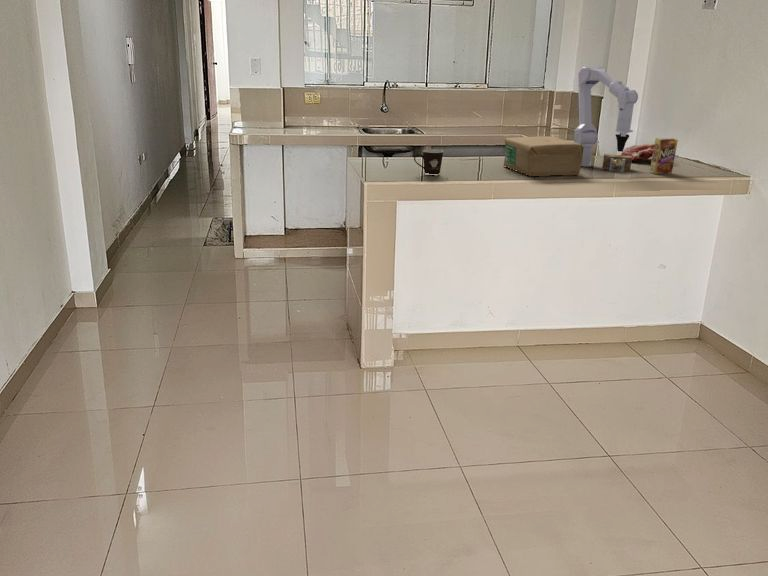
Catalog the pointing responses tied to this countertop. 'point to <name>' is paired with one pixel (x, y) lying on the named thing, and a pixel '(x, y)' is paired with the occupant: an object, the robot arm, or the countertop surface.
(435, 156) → the coffee mug
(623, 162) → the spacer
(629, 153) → the meat
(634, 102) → the robot arm
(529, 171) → the paper package
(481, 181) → the countertop surface
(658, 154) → the candy box
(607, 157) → the bearing block
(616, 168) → the shaft
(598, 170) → the countertop surface
